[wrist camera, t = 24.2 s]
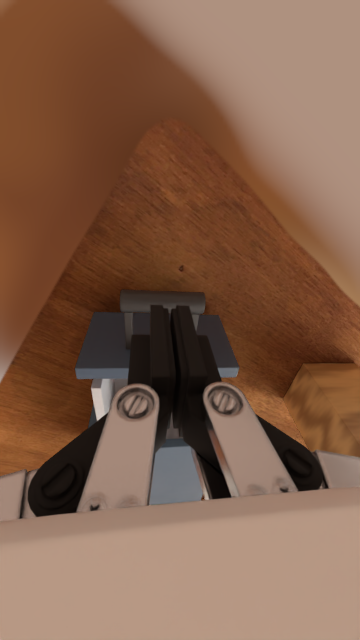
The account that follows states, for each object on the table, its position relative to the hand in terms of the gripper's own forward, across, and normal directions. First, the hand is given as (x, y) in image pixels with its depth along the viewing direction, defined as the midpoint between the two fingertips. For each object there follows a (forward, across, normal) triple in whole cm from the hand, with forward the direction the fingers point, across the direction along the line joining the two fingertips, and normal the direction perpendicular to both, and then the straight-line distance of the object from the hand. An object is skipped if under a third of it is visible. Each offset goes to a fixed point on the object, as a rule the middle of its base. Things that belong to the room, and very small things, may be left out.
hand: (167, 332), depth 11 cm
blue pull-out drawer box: (+12, 0, +12) cm, 17 cm away
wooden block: (+13, -24, +19) cm, 33 cm away
